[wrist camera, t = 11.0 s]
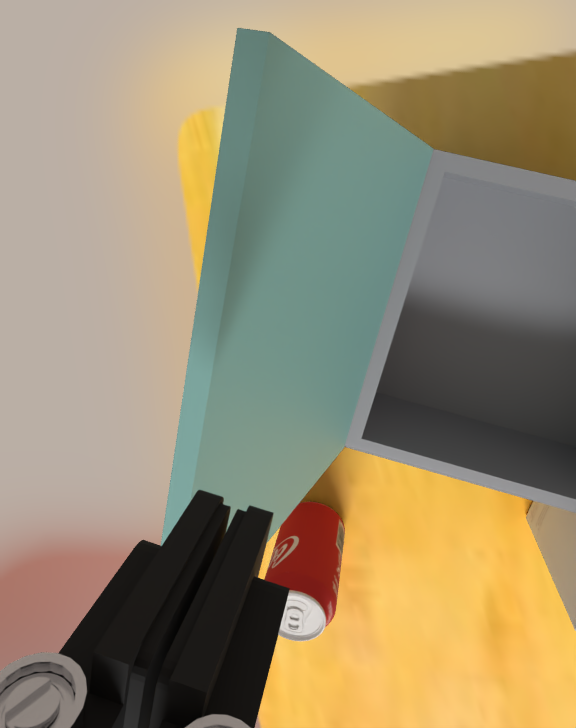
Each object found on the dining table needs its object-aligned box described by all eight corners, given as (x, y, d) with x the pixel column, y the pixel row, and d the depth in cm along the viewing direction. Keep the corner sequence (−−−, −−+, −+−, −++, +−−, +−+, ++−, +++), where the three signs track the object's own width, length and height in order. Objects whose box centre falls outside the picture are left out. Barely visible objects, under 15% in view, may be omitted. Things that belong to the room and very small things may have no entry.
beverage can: (287, 490, 49) (258, 578, 38) (349, 501, 48) (338, 596, 37) (281, 540, 52) (253, 637, 41) (341, 552, 51) (329, 655, 40)
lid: (269, 31, 10) (237, 27, 11) (160, 673, 18) (143, 660, 18) (433, 148, 28) (419, 145, 28) (343, 447, 35) (333, 443, 35)
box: (697, 220, 35) (808, 232, 26) (577, 453, 43) (630, 528, 33) (421, 157, 37) (433, 149, 28) (352, 392, 44) (344, 446, 35)
